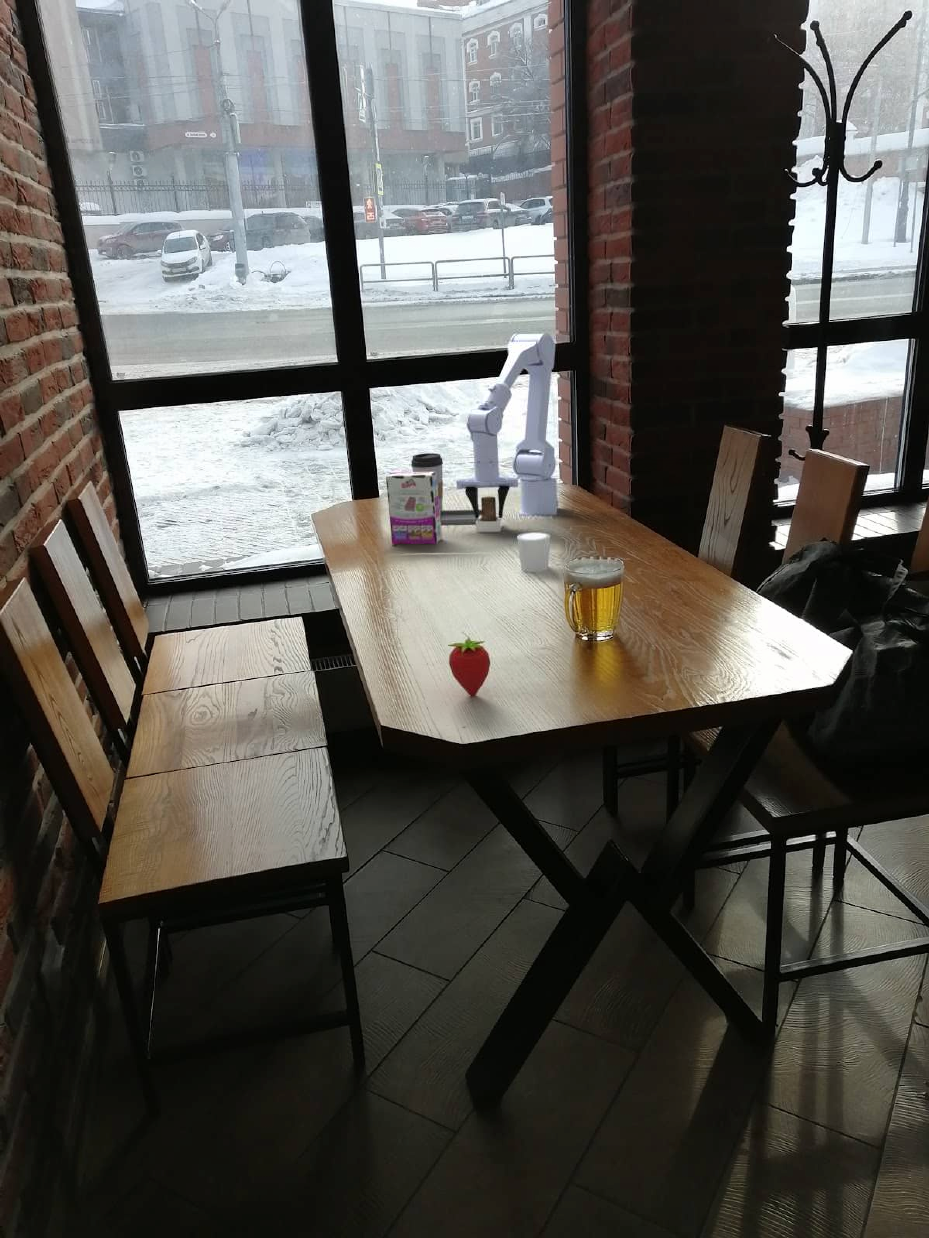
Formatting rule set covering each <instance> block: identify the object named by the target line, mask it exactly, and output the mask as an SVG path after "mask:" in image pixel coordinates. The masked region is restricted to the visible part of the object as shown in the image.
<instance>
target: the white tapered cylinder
mask: <svg viewBox="0 0 929 1238" xmlns="http://www.w3.org/2000/svg"><path fill="white" fill-rule="evenodd" d="M516 537H517V538H516V539H517V546H518V554H519V560H520V561H519V563H520V569H521V571H523V572H525V573H526V572H527V573H541V572H545V571H547V570H548V569H549V559H550V544H551V535H550V534H549V533H548V532H547V533H546V532H541V531H540V532H539V531H534V532H533V531H532V532H524V533H520V534H518V535H517V536H516Z"/></svg>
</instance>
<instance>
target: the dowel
mask: <svg viewBox="0 0 929 1238" xmlns="http://www.w3.org/2000/svg"><path fill="white" fill-rule="evenodd" d="M480 500H481V501H480V502H481V510H482V521H496V516H497V504H496V503H497V502H496V496H489V495H488V496H483V497H482V496H481V498H480Z"/></svg>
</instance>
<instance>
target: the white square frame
mask: <svg viewBox="0 0 929 1238" xmlns="http://www.w3.org/2000/svg"><path fill="white" fill-rule="evenodd" d="M503 525H504V524H503V517H502V518H499V515H496V521H482V516H479V518H477V520H476V524H475V533H495V532H496V533H497V532H498V533H499V532H502V529H503Z"/></svg>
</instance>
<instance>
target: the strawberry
mask: <svg viewBox="0 0 929 1238" xmlns="http://www.w3.org/2000/svg"><path fill="white" fill-rule="evenodd" d="M461 633H462V634H463V635H465V636H466V637H467V639H465V641H464V642H454V643H452V644H451V643H450V644H448V645H447V646H448V647H454V648H453V649H452V650H451V652H450V653H449V657H448V659H449V660H448V664H449V668H450V670H451V673H452V675H453V677H454V678H455V680H456V681H457V683H458V684H459V685H460V687H462V688H463V689H464V691H465V692H466V694H468V695H469V696H471V697H474V696H476V695H477V694H478V693H479V690H480V689H481V687H482V686H483V684H484V683H485V681H486V679H487V677H488V675H489V671H490V666H491V660H490V654H489V652H488V651H487V650H486V649H485V646H482V645H481V644H483V643H485V640H482V641H481V640H480V641H475V640H471V638H470V637H469V636H468V635H467V634H466V633H465V632H464V631H461Z"/></svg>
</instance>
